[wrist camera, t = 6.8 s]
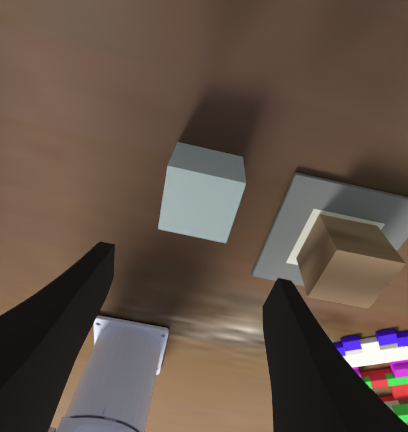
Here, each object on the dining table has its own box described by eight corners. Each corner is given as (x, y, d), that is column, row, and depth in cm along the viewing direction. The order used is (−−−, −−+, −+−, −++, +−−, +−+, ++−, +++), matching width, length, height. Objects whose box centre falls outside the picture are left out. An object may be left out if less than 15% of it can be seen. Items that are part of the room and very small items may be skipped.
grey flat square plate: (358, 293, 26) (360, 297, 25) (251, 272, 25) (251, 276, 25) (430, 202, 20) (433, 205, 20) (294, 171, 19) (295, 174, 19)
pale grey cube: (226, 210, 22) (226, 243, 18) (168, 197, 21) (157, 229, 18) (242, 156, 19) (246, 183, 16) (177, 141, 19) (167, 165, 16)
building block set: (498, 304, 26) (544, 350, 22) (482, 403, 36) (511, 447, 32) (241, 350, 33) (243, 391, 29) (287, 422, 43) (293, 460, 39)
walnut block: (348, 268, 23) (368, 308, 20) (296, 258, 23) (307, 296, 20) (377, 225, 21) (405, 263, 18) (319, 213, 21) (336, 249, 17)
